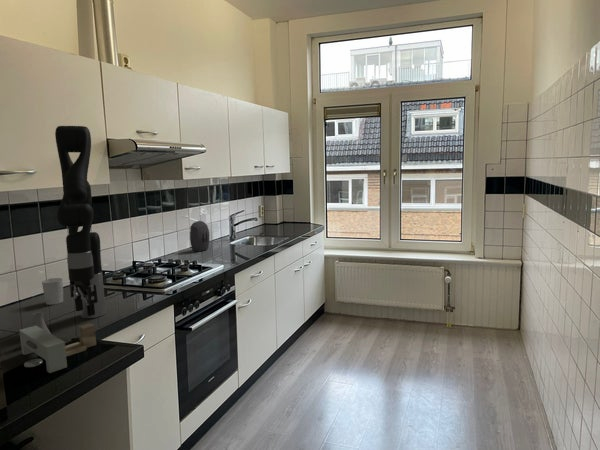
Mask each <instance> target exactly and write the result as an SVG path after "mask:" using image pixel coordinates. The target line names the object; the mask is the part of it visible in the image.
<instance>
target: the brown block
mask: <svg viewBox="0 0 600 450" xmlns="http://www.w3.org/2000/svg"><path fill="white" fill-rule="evenodd" d="M95 327H96V326H95V324H93V323H91V322H90V323H85V324H82V325H78V335H79V341H77V342H73V343H70V344H67V345H65V350H66V358H67V357H70V356H72V355H75V354H79V353H82V352H84V351H87V350H88V348H91V347H94V346H97V338H96V336H97V335H96V328H95Z"/></svg>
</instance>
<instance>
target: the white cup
mask: <svg viewBox="0 0 600 450" xmlns="http://www.w3.org/2000/svg"><path fill="white" fill-rule="evenodd" d="M41 284H42V290H43V296H44V300H45V304H46V305H47V306H49V305H50V306H52V305H57V304H62V303H63V302H64V282H63V278H62V277H54V278H53V277H52V278H47V279H43V280H42V281H41Z"/></svg>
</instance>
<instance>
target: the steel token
mask: <svg viewBox="0 0 600 450" xmlns="http://www.w3.org/2000/svg"><path fill="white" fill-rule="evenodd" d="M43 360H44V359H43V358H34V359H33V358H32V359H29V360H27V361H25V362H24V363H23V366H24V367H25V368H35V367H38V366H40V365H41V364H43V363H44V362H43Z"/></svg>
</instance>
